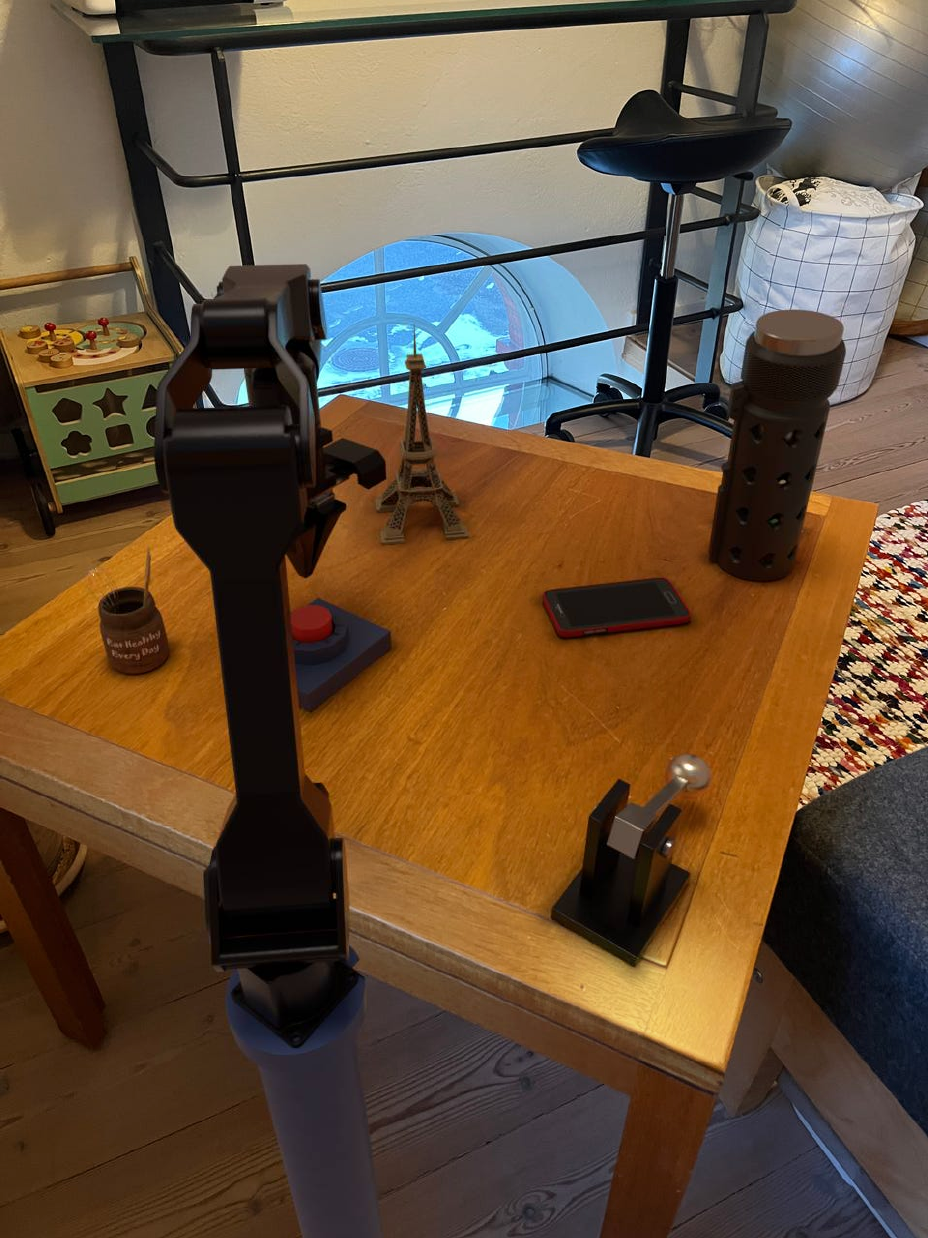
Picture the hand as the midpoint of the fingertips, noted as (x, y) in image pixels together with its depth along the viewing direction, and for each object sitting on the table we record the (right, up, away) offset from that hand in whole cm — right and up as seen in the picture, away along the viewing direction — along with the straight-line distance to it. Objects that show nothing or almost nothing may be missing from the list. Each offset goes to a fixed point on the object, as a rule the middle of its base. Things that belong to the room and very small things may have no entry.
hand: (305, 575), depth 86 cm
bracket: (+27, -25, -17) cm, 41 cm away
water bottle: (+48, +3, +21) cm, 53 cm away
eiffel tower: (+10, +8, +29) cm, 31 cm away
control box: (0, -8, +6) cm, 10 cm away
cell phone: (+31, -3, +13) cm, 34 cm away
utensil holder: (-18, -8, +7) cm, 21 cm away
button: (0, -5, +4) cm, 7 cm away
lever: (+30, -19, -16) cm, 39 cm away
